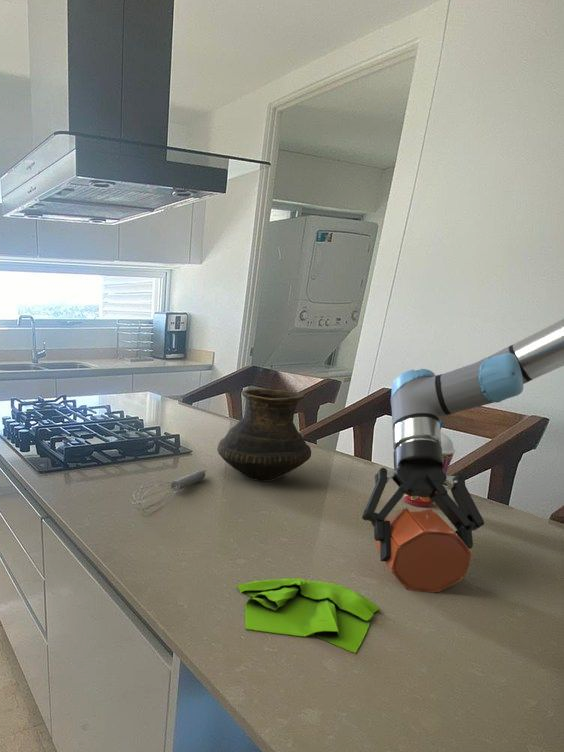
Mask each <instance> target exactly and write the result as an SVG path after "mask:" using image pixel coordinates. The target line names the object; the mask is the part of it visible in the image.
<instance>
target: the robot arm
mask: <svg viewBox="0 0 564 752" xmlns="http://www.w3.org/2000/svg"><path fill="white" fill-rule="evenodd" d="M561 367H564V317H563V318H561V319H559V320H557V321H555V322H553V323H551V324H550V325H548V326H545V327H544V328H541V329H540V330H538V331H535V332H533V333H531V334H530V335H528V336H525V337H524V338H522V339H520V340H518V341H516V342H514V343H513V344H511V345H509V346H507V347H505V348H502V349H501V350H499V351H497V352H495V353H492V354H491V355H489V356H486V357H484V358H482V359H480V360H479V361H476V362H474V363H471V364H467V365H465V366H464V365H463V366H461V367H459V368H457V369H454V370H450V371H448V372H447V371H446V372H445V373H440V374H436V373H434V372H433V371H432V370H430V369H426V368H420V369H417V370H415V369H414V368H413V369H409V370H405V371H404V372H402V373H401V374H399V375H398V376H396V378H394V379H393V381H392V384H391V394H390V395H391V396H390V408H391V421H392V422H391V423H392V447H393V452H392V453H393V469H394V470H388V469H387V468H386V467H380V469H379V470H378V471H377V472H376V474H375V475H374V483H375V485H374V487H373V489H372V492H371V494H370V496H369V499H368V501H367V504H366V506H365V508H364V511H363V513H362V515H361V519H362V520H364V521H369V522H371V526H373V539H374V542H375V541H380V552H379V554H380V562H385V561H387V560H388V559H389V558H391V532H390V521H386V520H385V521H384V519H386V518H388V516H389V514H390V513H391V512H392V511H393V510H394V508H395V507H396V506H397V504H398V503H399V502H400V500H401V499H402V498H403V497H404V496H403V495H404V494H407V495H408V496H420V497H426V498H427V497H429V498H430V500H431V501H432V502H433V503H434V504H436V506H437V507H438V508H439V510H440V511H441V512H442V513H443V514H444V515H445V517H446V518H447V519H448V520H449V522H450V523H451V524H452V525H453V527H454V528H455V529H456V530H454V532H455V533H456V534H457V535H458V536H459V537H460V538H461V540H462V541H463V542H464V543H465V545H466V546H467V547H468V548H469V550H470V549H472V548H473V546H474V540H473V532H474V531H477V530H478V529H479V528H481V527H483V526H484V525H485V520H484V518H483V517H482V515H481V512H480V511H479V509H478V507H477V505H476V503H475V502H474V499H473V497H472V496H471V493H470V492H469V490H468V488H467V485H466V478H465V477H466V476H465V474H462V473H457V474H456V475H447V473H446V474H445V473H444V471H443V456H442V447H441V433H442V432H441V430H440V420H441V419H440V418H442V417H445V416H449V415H452V414H456V413H460V412H463V411H467V410H471V409H475V408H480V407H483V406H487V405H491V404H495V403H497V404H498V403H501V402H503V401H506V400H507V399H511V398H515V397H518V396H519V395H521V394H522V392H523V391H524V385H525V384H527V383H529V382H531V381H534V380H535V379H537V378H540V377H542V376H544V375H546V374H549V373H550V372H553V371H555V370H557V369H560V368H561ZM391 479H392V481H393V482H394V484H396V486H397V487H398V489H397V490H396V491H395V492H394V494H393V495H392V496H391V497H390V498H389V500H388V501H387V502H386V503H385V505H383V507H382V509H381V510H380V511H379V512H378V513H377V512H376V509H377V507H378V505H379V503H380V499H381V498H382V495H383V492H384V491H385V488H386V486H387V483H389V482H390V481H391ZM444 484H446V485H447V488H446V487H445V486H444ZM448 489H449V490H450V493H451V496H452V497H453V499H452V497H451V496H450V495H449V494H448ZM436 491H437V494H436V493H435V492H436Z"/></svg>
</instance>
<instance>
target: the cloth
mask: <svg viewBox="0 0 564 752" xmlns="http://www.w3.org/2000/svg"><path fill="white" fill-rule="evenodd" d="M236 588H238V591H239V593H240V594H242V593H244V594H245V595H247V596H249V599H247V601H246V603H245V606H244V630H247V631H248V630H249V631H253V632H254V631H255V632H261V633H262V632H263V633H270V634H277V635H283V636H284V635H286V636H292V637H302V638H306V637H308V636H313V637H314V638H318V639H321V640H323V641H326V642H327V643H329V644H332V645H334V646H336V647H339V648H340V649H343V650H345V651H348V652H350V653H353V654H356V653H357V652H358V651H359V648H360V646H361V644H362V643H363V640H364V638H366V637H365V636H366V635H367V632H368V630H369V627H370V626H371V622H372V617H374V613H376V612H377V611H379V610H380V607H379V606H378V605H377V604H376V603H374V602H373V601H372V600H370V599H368V598H366V597H365V596H364V595H362V594H360V593H358V592H356V591H355V590H353V589H351V588H348V587H346V586H344V585H340V584H338V583H334V582H333V583H332V582H325V581H322V580H321V581H320V580H315V581H314V580H308V579H304V578H293V577H292V578H291V577H289V578H287V577H286V578H279V579H278V578H277V579H275V578H272V579H266V580H265V579H264V580H255V581H250V582H245V583H240V584H237V585H236ZM263 596H265V597H263ZM260 597H261V598H260Z"/></svg>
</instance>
